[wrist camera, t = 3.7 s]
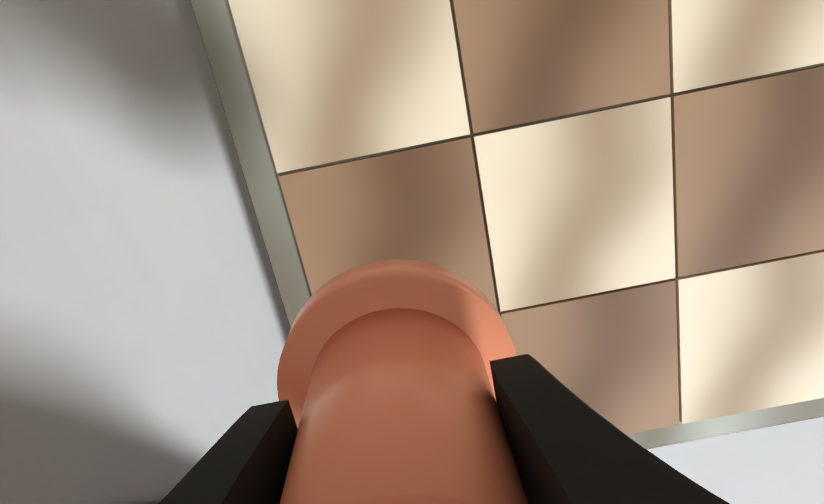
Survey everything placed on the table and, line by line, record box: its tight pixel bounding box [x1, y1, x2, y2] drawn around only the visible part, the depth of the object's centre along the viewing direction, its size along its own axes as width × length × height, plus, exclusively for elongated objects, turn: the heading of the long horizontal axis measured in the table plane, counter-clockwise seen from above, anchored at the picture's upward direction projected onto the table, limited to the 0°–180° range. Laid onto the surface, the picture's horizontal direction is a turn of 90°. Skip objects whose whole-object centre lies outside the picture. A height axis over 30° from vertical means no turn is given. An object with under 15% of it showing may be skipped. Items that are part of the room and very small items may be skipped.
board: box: [190, 0, 824, 449], centre depth 17 cm, size 26×20×1 cm
